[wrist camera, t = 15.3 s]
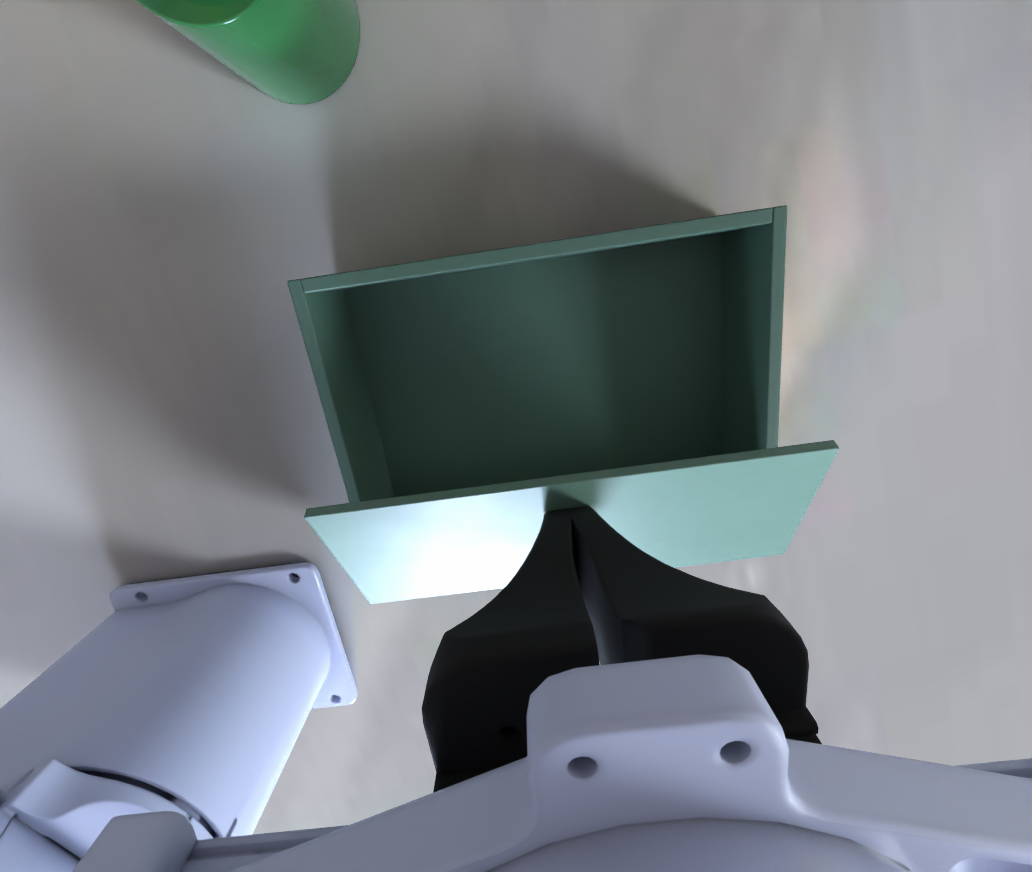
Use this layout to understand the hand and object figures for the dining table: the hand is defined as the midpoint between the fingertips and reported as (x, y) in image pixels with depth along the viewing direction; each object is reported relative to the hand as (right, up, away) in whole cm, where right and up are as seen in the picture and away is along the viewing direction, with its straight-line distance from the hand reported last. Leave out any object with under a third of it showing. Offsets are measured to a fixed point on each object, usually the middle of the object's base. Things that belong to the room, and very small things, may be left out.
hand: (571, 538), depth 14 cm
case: (0, +5, +5) cm, 7 cm away
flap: (0, 0, +1) cm, 1 cm away
